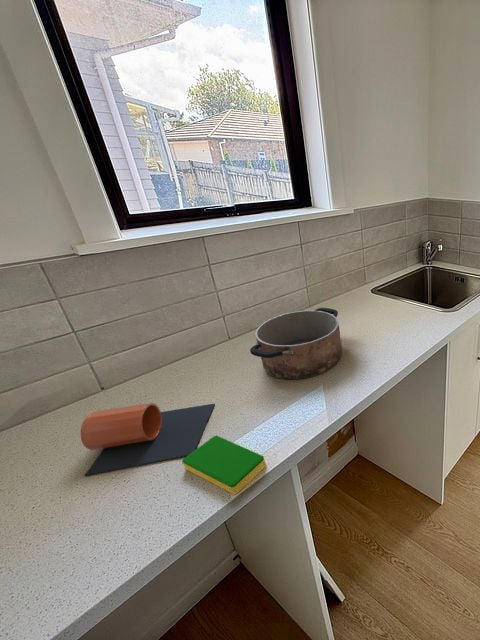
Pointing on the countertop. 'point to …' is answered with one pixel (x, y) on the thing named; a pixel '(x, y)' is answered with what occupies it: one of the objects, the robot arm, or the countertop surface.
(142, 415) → the cup
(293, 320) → the cooking pot
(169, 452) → the mat
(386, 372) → the countertop surface
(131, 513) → the countertop surface
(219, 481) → the dish sponge
